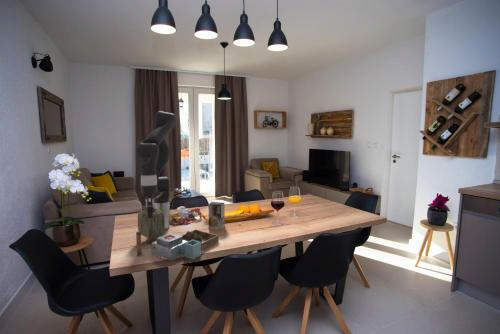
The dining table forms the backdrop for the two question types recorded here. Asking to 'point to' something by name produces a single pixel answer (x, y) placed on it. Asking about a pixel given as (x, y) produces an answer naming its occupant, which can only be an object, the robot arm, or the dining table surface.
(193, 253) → the pen cup
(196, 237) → the seashell
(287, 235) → the dining table surface
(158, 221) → the green backpack
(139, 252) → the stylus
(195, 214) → the food tray
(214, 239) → the frame
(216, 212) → the coffee box
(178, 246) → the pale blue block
